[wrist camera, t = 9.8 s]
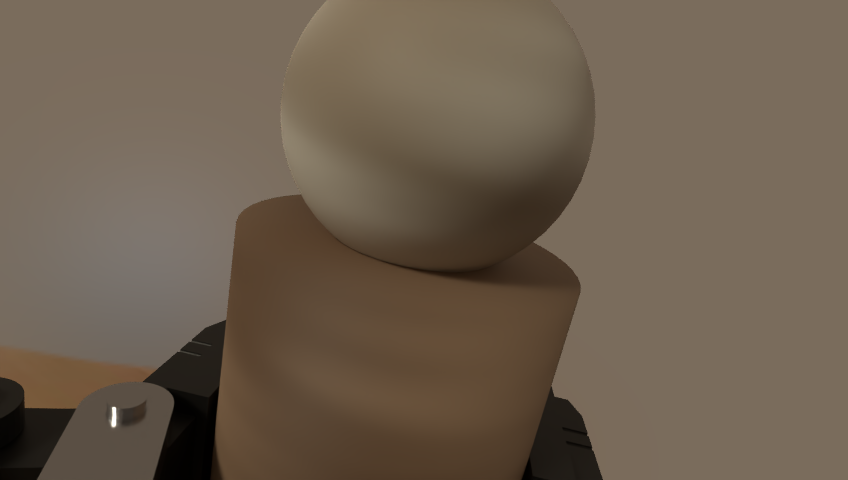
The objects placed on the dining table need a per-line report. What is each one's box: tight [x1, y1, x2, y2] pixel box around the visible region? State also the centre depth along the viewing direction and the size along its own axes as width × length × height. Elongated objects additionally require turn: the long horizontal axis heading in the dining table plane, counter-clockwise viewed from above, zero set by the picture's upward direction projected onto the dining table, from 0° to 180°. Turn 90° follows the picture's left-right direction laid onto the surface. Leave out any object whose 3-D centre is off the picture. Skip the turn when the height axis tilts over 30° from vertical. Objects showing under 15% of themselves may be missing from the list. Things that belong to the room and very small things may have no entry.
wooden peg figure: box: [210, 0, 595, 480], centre depth 9 cm, size 5×5×16 cm
